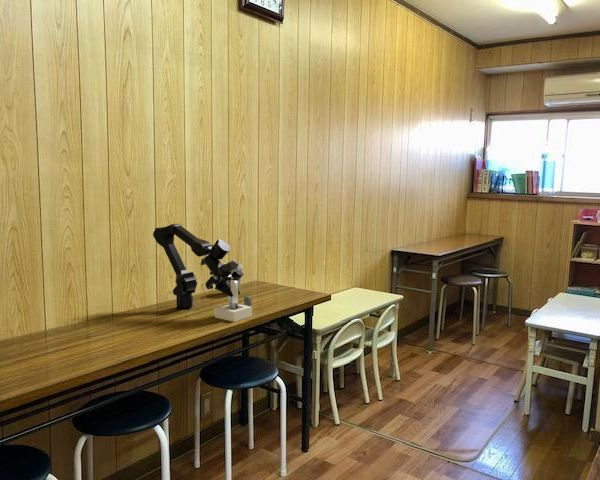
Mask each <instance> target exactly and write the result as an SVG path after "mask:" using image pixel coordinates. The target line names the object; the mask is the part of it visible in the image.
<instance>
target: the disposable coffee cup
mask: <svg viewBox="0 0 600 480" xmlns="http://www.w3.org/2000/svg"><path fill="white" fill-rule="evenodd" d="M224 264H226V262H225V263H224ZM243 269H244V267H243V265H242V263H241V264H240V263H238V267H237V269H234V270H232V272H231V274H232V273H233V272H234V271H238V270H240V271H242V272H243ZM231 274H229V276H230V275H231ZM241 281H242V277H241V278H240V279H239V280H238V288H239V290H240V289H241ZM227 285H228V282H227Z"/></svg>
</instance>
